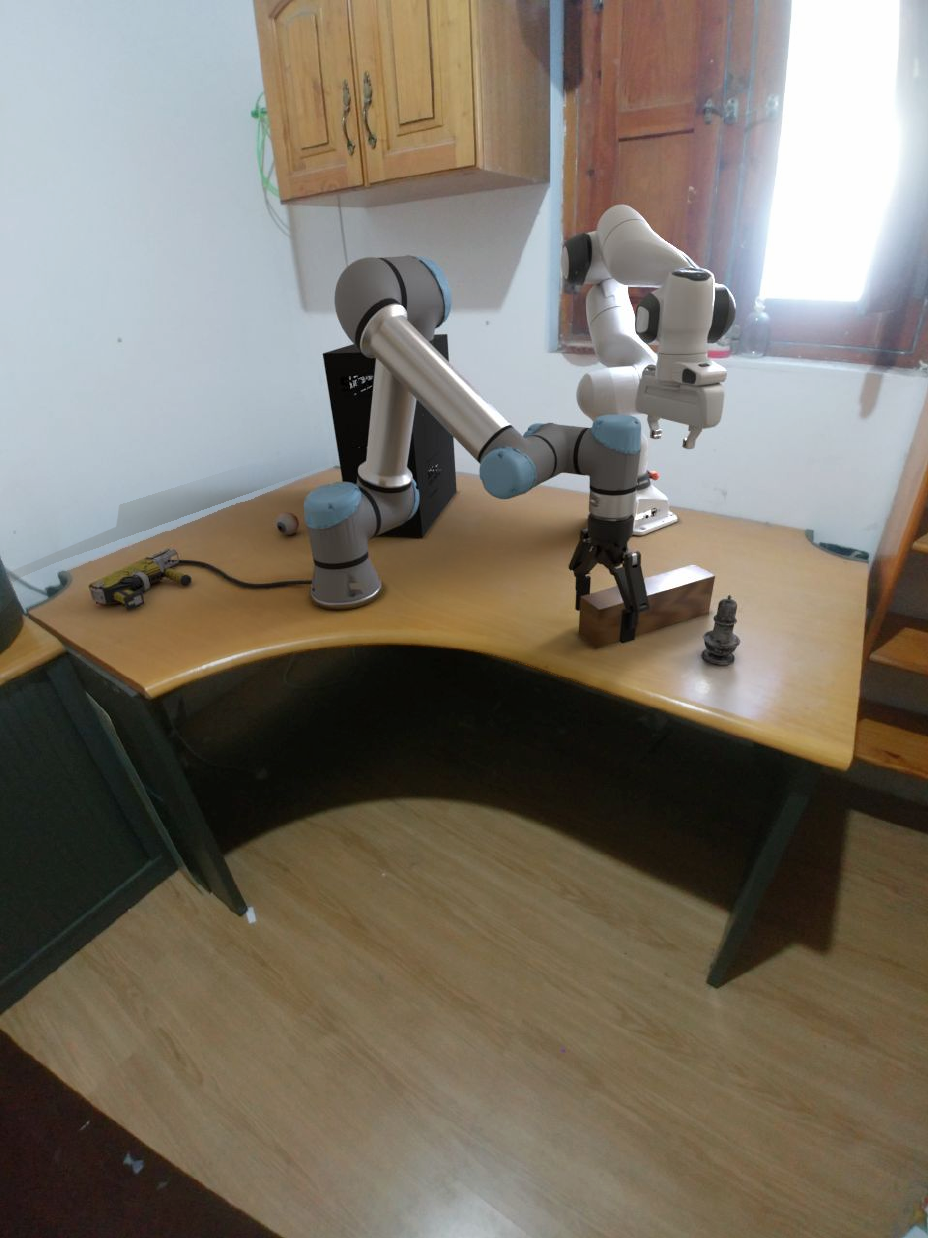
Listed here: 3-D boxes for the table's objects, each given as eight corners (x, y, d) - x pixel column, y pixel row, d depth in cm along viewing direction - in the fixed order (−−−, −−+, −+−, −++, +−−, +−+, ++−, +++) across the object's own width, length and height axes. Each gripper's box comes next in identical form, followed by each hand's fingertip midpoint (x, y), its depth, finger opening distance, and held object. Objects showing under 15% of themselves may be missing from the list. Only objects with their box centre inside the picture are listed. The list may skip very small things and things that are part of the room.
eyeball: (273, 537, 164) (268, 516, 161) (287, 528, 169) (282, 508, 166) (291, 539, 161) (286, 518, 158) (305, 530, 166) (301, 510, 163)
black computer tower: (422, 537, 158) (405, 350, 135) (350, 534, 162) (322, 353, 140) (456, 491, 189) (447, 333, 167) (395, 489, 194) (378, 336, 171)
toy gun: (215, 556, 146) (165, 546, 150) (137, 598, 126) (82, 584, 130) (218, 574, 148) (168, 563, 152) (142, 617, 128) (87, 603, 132)
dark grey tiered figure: (739, 667, 101) (752, 604, 95) (702, 664, 102) (713, 602, 96) (733, 648, 106) (745, 587, 100) (697, 646, 107) (708, 585, 101)
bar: (687, 600, 122) (693, 564, 118) (708, 612, 117) (715, 575, 113) (578, 634, 113) (580, 596, 109) (596, 648, 109) (599, 609, 104)
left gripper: (551, 497, 109) (549, 601, 119) (642, 543, 89) (630, 662, 99) (586, 489, 111) (581, 592, 122) (682, 532, 91) (666, 650, 102)
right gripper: (631, 364, 120) (625, 435, 127) (707, 376, 104) (695, 457, 110) (656, 361, 122) (649, 431, 129) (734, 372, 106) (721, 451, 113)
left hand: (603, 624), depth 110 cm, fingers open, 13 cm apart
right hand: (671, 443), depth 120 cm, fingers open, 8 cm apart
